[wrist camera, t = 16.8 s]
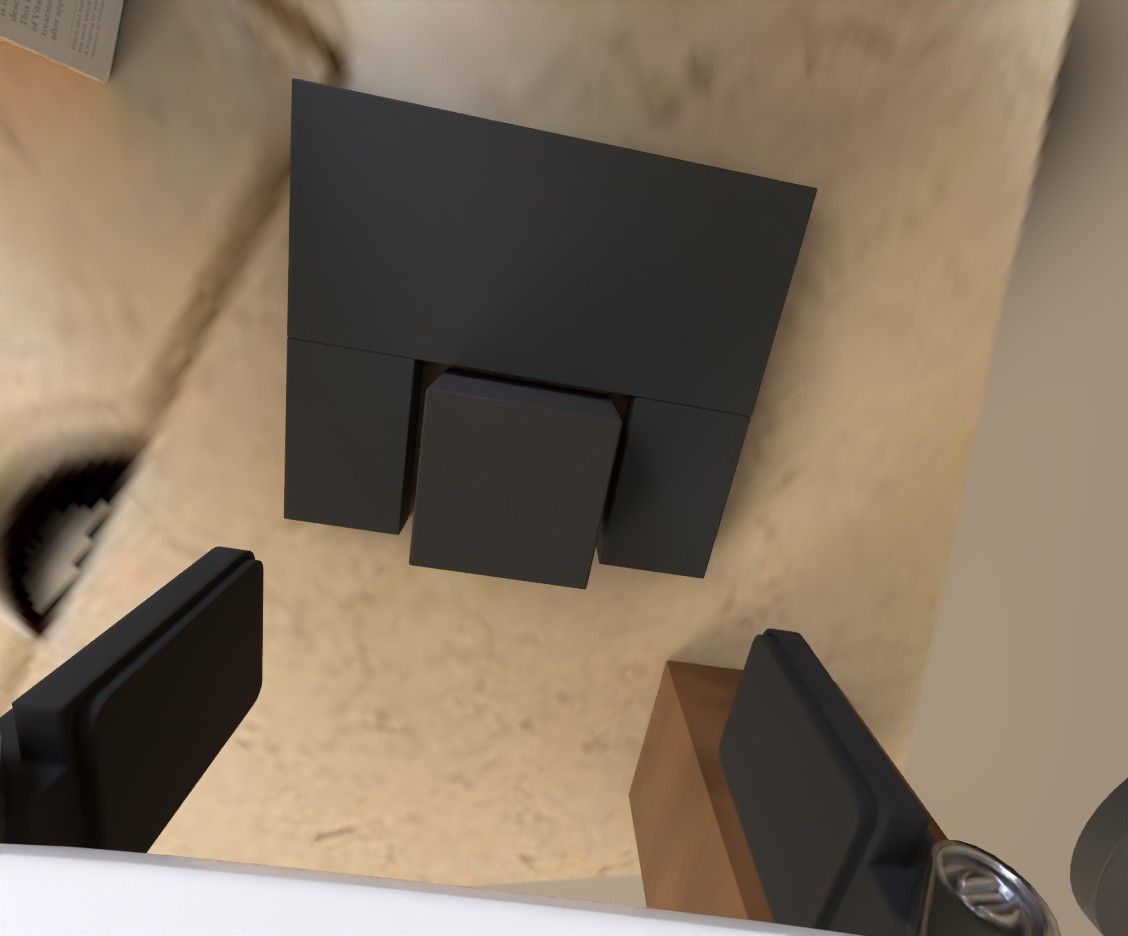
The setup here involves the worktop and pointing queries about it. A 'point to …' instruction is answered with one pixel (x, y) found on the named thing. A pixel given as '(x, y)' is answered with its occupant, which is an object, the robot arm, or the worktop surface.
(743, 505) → the worktop surface
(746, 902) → the brown wooden block
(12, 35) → the small box
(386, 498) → the black u-shaped block
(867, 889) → the robot arm
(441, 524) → the black squat block
